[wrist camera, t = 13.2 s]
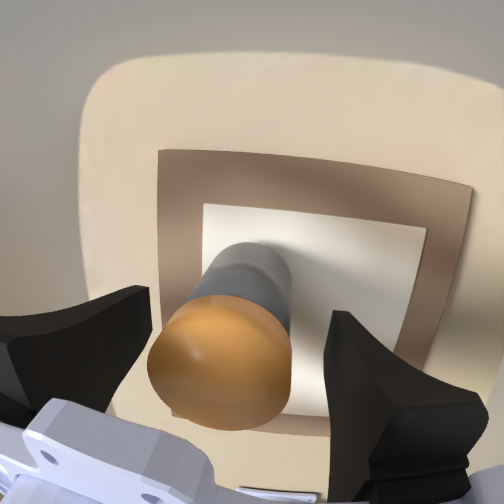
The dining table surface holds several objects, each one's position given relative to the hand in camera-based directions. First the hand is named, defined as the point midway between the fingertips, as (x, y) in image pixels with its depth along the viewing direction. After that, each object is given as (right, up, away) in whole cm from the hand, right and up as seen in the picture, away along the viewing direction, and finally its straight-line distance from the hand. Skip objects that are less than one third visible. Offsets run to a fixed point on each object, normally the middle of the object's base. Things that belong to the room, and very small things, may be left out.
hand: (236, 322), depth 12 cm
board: (+3, -1, +6) cm, 7 cm away
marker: (+1, +1, +4) cm, 4 cm away
